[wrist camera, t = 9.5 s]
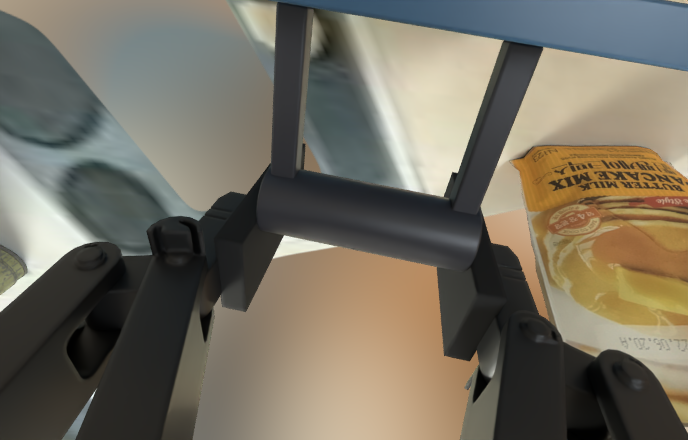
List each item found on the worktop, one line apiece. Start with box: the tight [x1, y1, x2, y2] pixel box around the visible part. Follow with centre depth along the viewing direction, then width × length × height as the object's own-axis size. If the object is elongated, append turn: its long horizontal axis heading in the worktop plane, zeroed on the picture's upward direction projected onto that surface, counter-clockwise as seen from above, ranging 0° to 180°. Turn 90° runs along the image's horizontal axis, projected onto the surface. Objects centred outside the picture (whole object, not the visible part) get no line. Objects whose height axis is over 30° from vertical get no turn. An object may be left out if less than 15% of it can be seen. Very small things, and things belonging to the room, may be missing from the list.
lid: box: [256, 0, 688, 272], centre depth 15 cm, size 19×18×7 cm
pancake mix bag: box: [509, 146, 688, 427], centre depth 29 cm, size 7×19×28 cm, turn 94°
